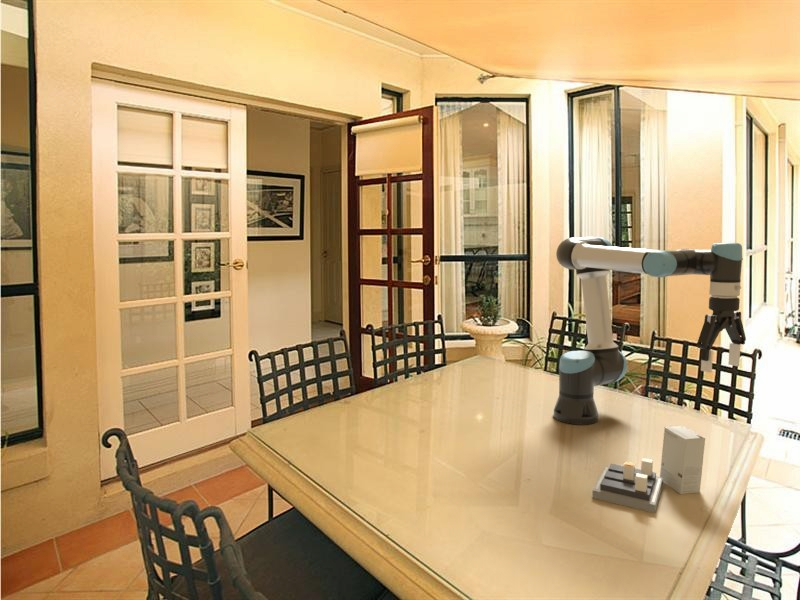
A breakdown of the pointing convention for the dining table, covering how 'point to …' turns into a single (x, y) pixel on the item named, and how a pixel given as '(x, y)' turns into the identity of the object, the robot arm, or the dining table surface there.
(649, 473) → the block
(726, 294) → the robot arm
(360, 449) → the dining table surface
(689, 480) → the skincare box
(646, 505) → the panel
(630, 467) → the breaker mid
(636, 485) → the block
